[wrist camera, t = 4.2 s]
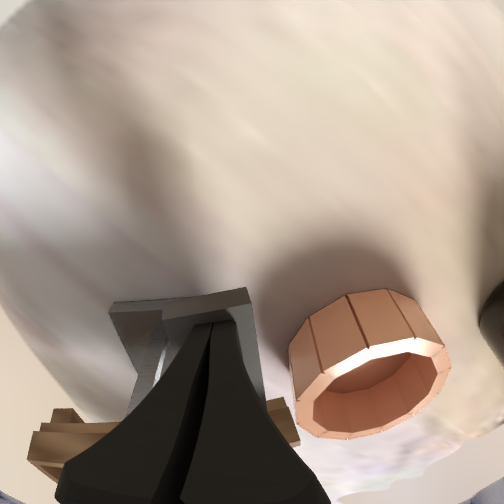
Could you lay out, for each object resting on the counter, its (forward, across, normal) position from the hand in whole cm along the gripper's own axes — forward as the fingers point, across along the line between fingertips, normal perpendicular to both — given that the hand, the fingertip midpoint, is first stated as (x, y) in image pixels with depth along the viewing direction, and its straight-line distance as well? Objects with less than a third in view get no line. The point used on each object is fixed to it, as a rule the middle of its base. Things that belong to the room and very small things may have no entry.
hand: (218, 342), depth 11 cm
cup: (+7, -8, +9) cm, 13 cm away
